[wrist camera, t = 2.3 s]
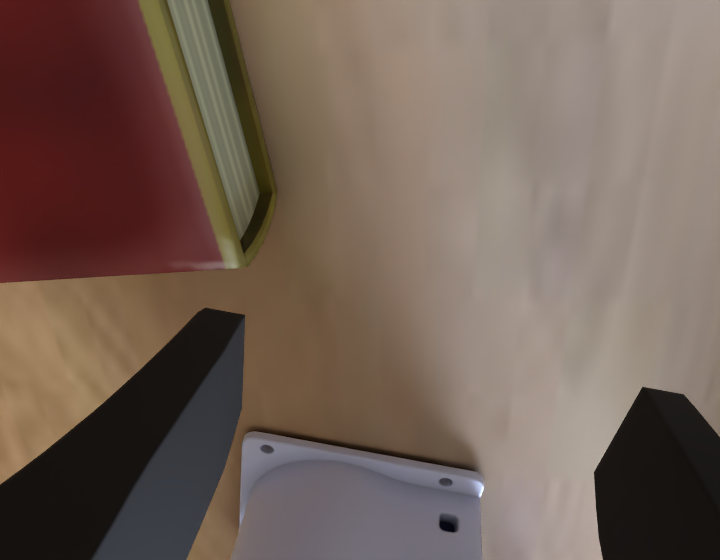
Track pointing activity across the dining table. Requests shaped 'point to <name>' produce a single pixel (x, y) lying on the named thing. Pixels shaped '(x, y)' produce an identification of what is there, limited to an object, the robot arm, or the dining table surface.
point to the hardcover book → (127, 140)
